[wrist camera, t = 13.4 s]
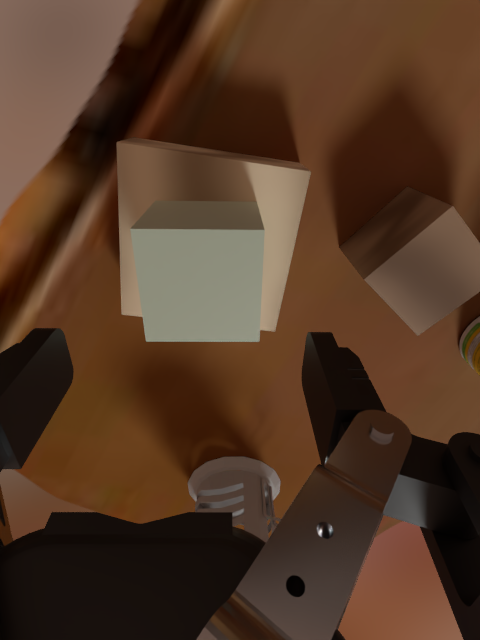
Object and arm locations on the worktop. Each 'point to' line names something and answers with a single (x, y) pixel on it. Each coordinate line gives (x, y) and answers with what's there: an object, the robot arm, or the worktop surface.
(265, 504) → the french press
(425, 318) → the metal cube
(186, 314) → the green cube
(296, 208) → the pine block
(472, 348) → the supplement bottle
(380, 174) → the worktop surface
